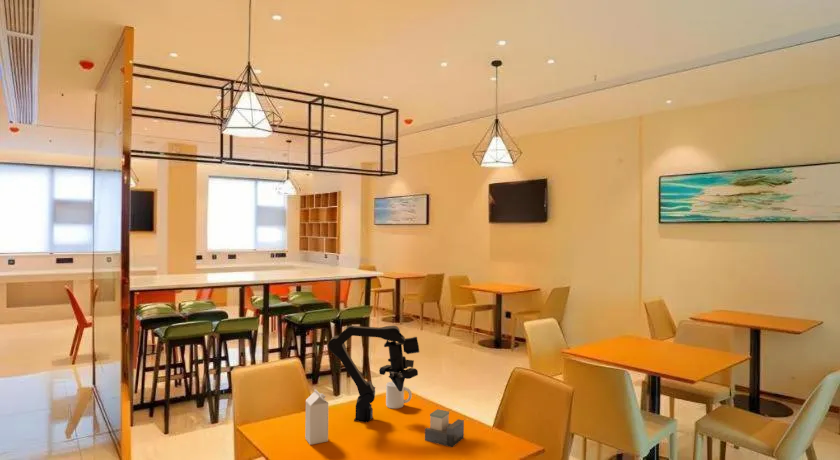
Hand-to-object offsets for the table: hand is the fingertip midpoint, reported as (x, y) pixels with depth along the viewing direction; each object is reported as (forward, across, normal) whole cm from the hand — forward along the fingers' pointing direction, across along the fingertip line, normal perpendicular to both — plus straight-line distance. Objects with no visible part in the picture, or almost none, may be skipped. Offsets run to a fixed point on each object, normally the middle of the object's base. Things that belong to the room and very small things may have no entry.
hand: (400, 391), depth 217 cm
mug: (+12, +13, -10) cm, 21 cm away
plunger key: (+12, -24, +4) cm, 27 cm away
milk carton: (+8, +9, +39) cm, 41 cm away
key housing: (+14, -26, +4) cm, 30 cm away
